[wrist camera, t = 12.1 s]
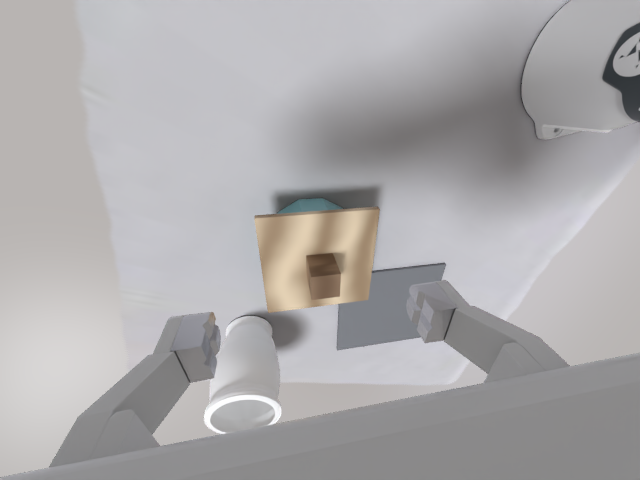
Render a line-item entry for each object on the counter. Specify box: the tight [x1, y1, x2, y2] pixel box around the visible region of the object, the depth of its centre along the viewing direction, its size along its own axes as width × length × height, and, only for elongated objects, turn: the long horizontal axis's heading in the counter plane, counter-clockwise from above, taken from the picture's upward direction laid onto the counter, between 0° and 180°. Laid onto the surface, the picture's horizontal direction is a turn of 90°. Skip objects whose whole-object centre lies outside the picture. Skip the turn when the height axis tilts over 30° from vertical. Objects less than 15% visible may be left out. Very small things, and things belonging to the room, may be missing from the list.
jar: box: [204, 316, 281, 434], centre depth 42 cm, size 11×10×15 cm
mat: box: [337, 263, 446, 350], centre depth 52 cm, size 20×20×1 cm
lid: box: [255, 207, 380, 313], centre depth 33 cm, size 15×15×5 cm
